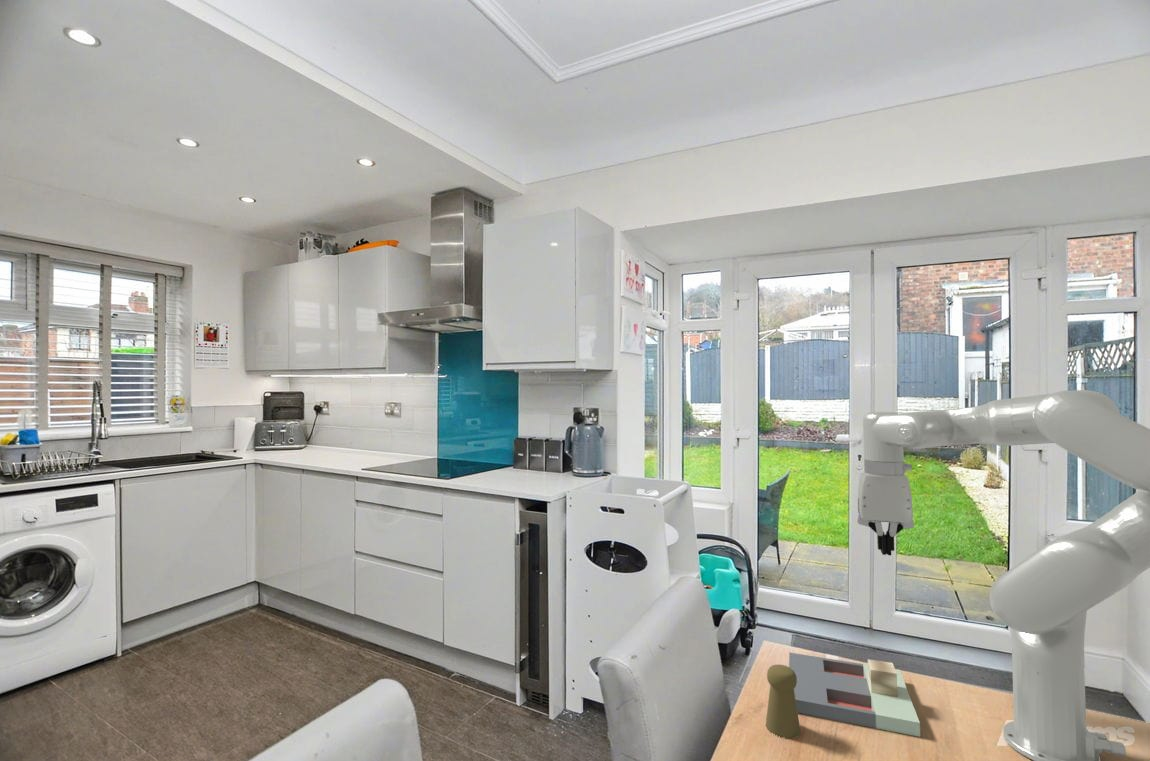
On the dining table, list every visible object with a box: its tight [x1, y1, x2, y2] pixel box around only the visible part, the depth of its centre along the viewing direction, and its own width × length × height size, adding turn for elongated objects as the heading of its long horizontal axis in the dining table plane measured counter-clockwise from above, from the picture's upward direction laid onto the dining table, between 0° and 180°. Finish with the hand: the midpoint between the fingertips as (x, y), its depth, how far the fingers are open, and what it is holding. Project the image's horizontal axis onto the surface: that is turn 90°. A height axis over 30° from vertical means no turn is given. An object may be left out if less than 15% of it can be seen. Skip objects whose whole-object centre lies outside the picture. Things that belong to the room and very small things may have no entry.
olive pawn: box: [765, 664, 801, 739], centre depth 101 cm, size 6×6×11 cm
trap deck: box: [788, 652, 921, 738], centre depth 111 cm, size 22×20×2 cm
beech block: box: [867, 658, 897, 697], centre depth 109 cm, size 4×4×4 cm
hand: (885, 553), depth 117 cm, fingers closed
